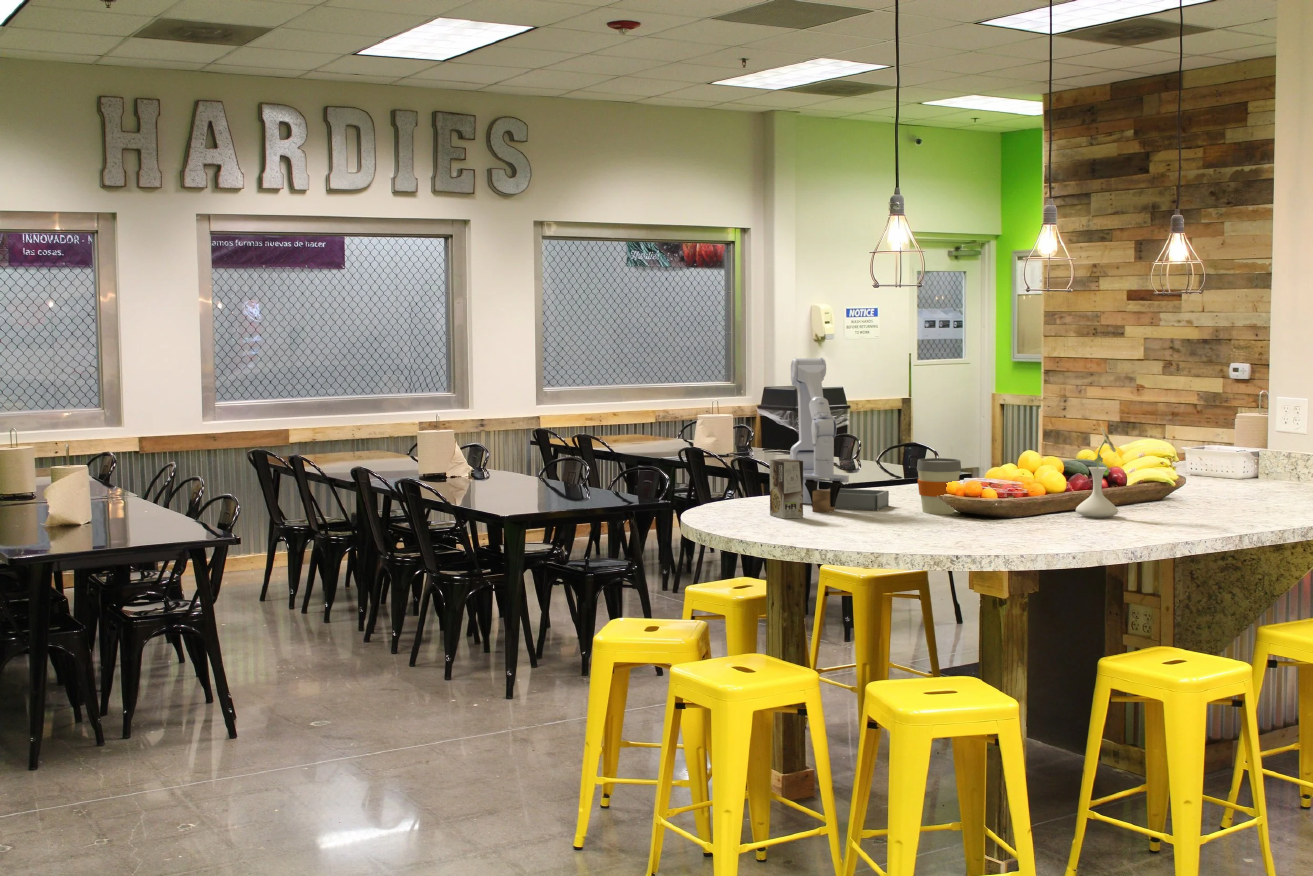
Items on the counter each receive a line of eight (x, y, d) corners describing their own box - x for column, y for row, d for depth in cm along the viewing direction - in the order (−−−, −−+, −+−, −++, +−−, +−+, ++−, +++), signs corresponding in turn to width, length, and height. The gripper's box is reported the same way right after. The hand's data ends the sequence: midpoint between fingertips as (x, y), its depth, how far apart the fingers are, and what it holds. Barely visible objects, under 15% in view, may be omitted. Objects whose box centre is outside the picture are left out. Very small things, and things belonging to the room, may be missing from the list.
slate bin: (818, 507, 401) (818, 492, 400) (830, 502, 412) (830, 488, 411) (877, 510, 393) (877, 495, 393) (888, 505, 404) (888, 490, 404)
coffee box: (804, 518, 379) (804, 460, 378) (783, 519, 376) (783, 461, 375) (789, 514, 387) (789, 457, 386) (768, 515, 385) (768, 458, 384)
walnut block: (812, 511, 392) (812, 491, 391) (818, 509, 396) (818, 489, 396) (829, 512, 390) (829, 491, 389) (834, 510, 394) (834, 490, 394)
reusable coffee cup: (964, 514, 383) (965, 462, 382) (920, 515, 383) (920, 462, 382) (955, 509, 396) (956, 458, 394) (912, 509, 396) (913, 458, 395)
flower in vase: (1110, 520, 370) (1112, 429, 368) (1069, 517, 376) (1071, 428, 375) (1125, 515, 380) (1127, 426, 378) (1085, 512, 387) (1087, 425, 385)
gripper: (795, 459, 391) (795, 506, 392) (843, 461, 385) (843, 509, 386) (803, 457, 397) (803, 503, 399) (851, 459, 391) (850, 506, 392)
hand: (823, 506), depth 393 cm, fingers closed on walnut block, 5 cm apart
